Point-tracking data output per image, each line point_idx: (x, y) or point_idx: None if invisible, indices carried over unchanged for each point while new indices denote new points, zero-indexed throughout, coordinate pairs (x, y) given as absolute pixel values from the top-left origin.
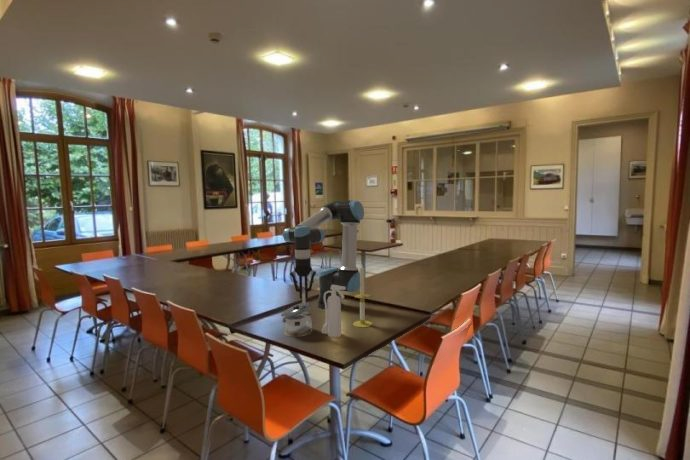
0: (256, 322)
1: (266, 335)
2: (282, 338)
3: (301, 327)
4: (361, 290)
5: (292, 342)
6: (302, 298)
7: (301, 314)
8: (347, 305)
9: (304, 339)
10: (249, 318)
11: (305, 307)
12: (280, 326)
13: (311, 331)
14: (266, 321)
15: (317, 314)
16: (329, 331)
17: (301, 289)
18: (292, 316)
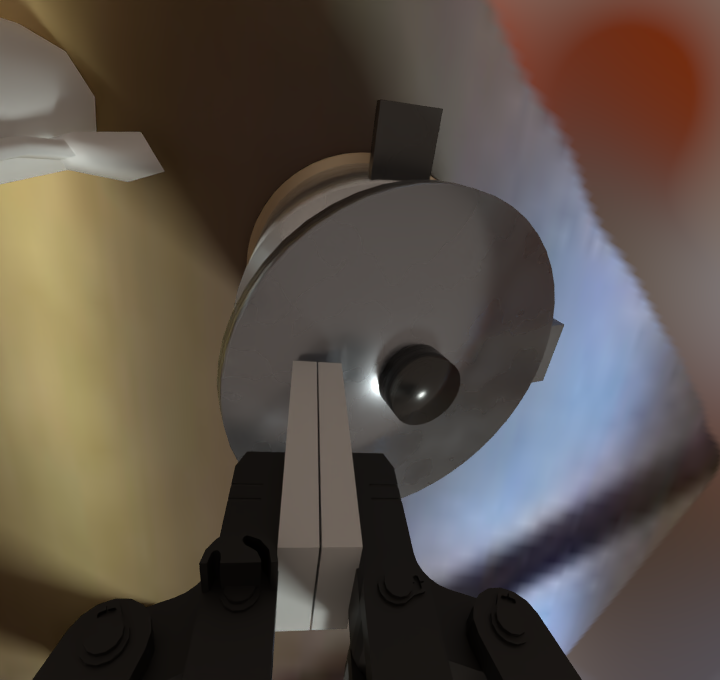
0: (591, 476)
1: (593, 259)
2: (498, 166)
3: (349, 172)
4: None
5: (434, 39)
6: (343, 440)
7: None
8: (30, 646)
9: (322, 88)
10: (609, 529)
11: (294, 290)
12: None
13: (256, 241)
14: (535, 482)
15: None
16: (39, 59)
17: (384, 650)
18: None
